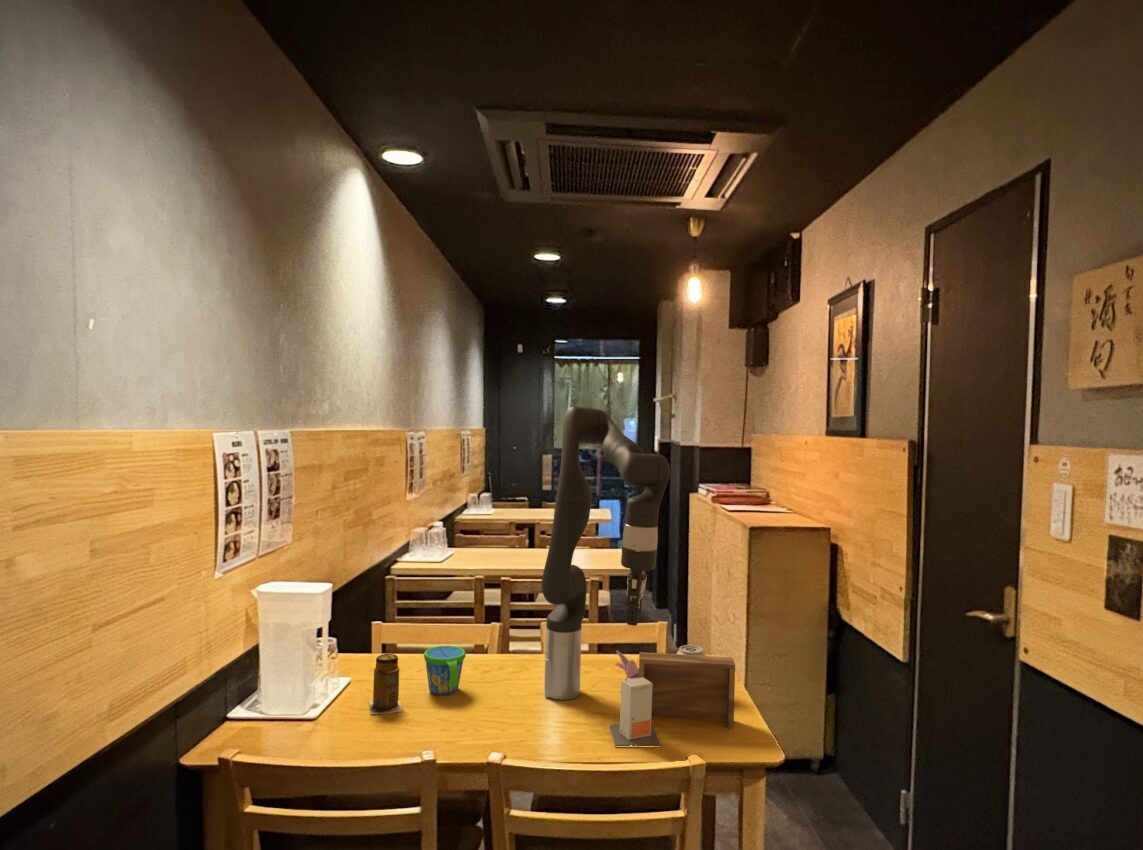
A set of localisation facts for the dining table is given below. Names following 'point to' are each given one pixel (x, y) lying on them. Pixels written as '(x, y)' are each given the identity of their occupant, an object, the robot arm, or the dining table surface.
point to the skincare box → (636, 708)
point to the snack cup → (444, 668)
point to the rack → (690, 686)
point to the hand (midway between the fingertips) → (634, 618)
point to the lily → (628, 667)
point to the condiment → (386, 685)
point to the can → (690, 650)
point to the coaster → (623, 741)
